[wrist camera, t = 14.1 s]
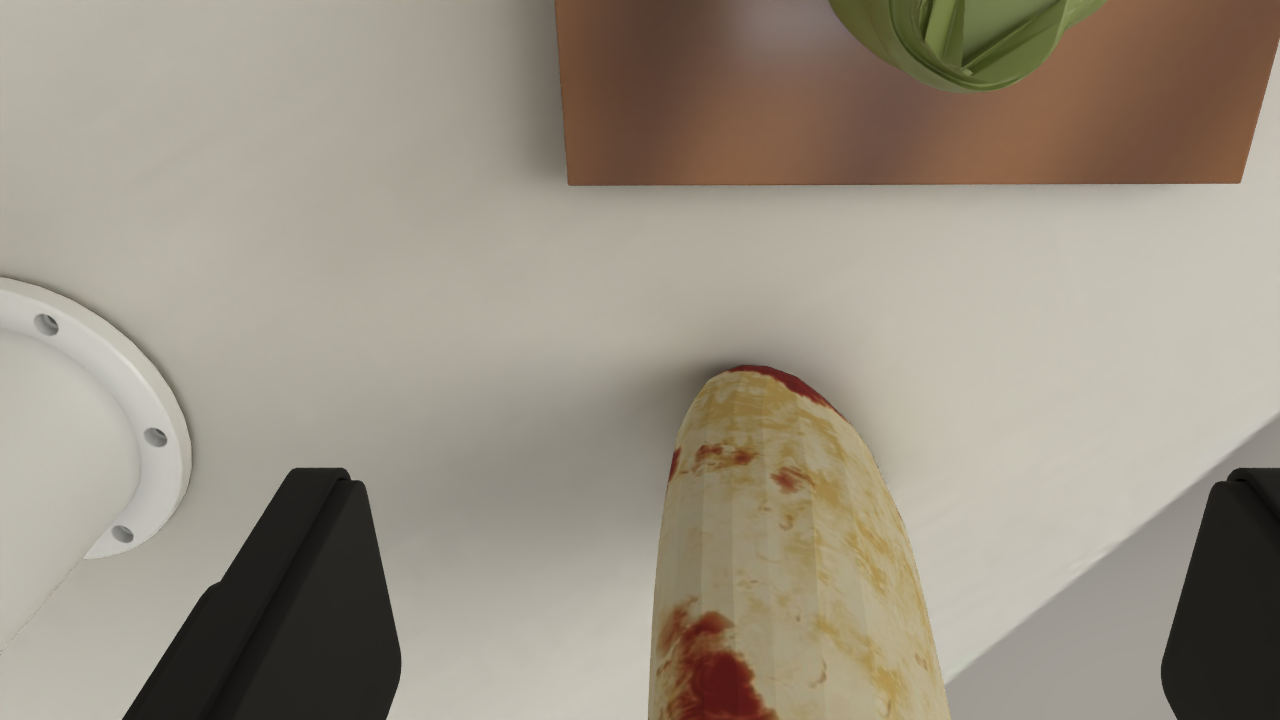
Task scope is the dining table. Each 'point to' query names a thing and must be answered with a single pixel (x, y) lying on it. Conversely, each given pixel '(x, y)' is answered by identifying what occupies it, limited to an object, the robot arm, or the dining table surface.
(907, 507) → the dining table surface
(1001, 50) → the pear
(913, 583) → the food model
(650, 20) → the cutting board
